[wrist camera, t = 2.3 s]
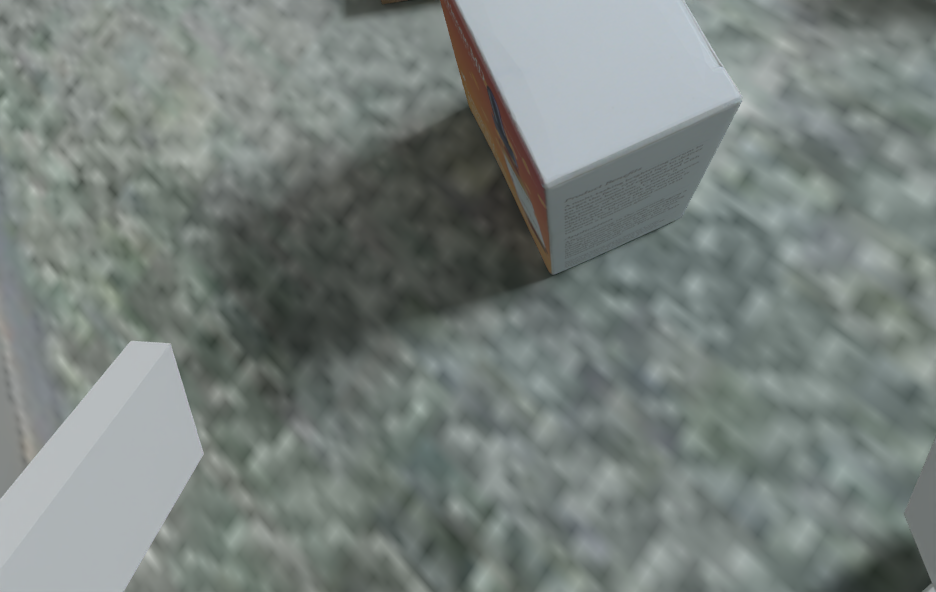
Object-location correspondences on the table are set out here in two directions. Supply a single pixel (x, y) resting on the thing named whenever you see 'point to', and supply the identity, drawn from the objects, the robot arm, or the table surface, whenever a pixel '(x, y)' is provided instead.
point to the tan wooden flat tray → (390, 1)
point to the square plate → (929, 588)
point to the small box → (593, 113)
